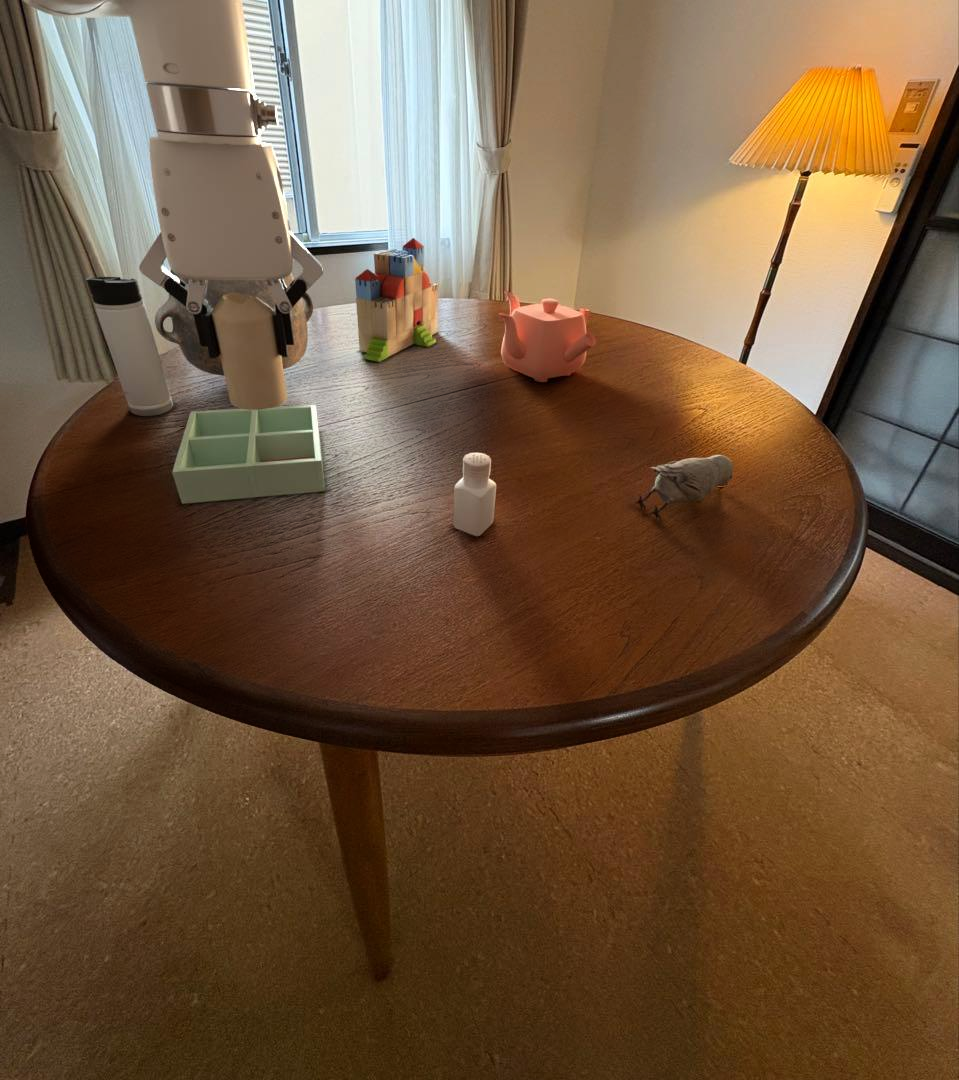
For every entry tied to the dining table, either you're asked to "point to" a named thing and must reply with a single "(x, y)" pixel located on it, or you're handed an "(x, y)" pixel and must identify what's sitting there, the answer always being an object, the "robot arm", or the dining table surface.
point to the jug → (185, 322)
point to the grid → (249, 454)
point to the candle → (249, 352)
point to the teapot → (545, 338)
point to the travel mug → (131, 344)
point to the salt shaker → (474, 495)
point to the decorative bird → (689, 480)
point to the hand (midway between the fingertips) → (250, 351)
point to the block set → (396, 303)
